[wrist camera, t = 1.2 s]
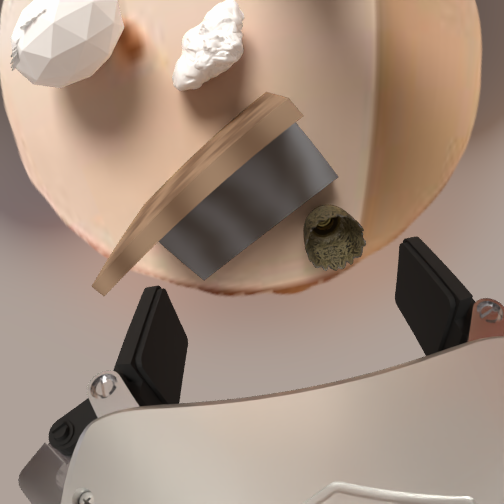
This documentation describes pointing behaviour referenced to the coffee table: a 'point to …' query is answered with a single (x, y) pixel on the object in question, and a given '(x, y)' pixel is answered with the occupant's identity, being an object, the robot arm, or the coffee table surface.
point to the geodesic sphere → (65, 39)
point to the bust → (210, 47)
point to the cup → (332, 237)
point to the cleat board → (226, 193)
